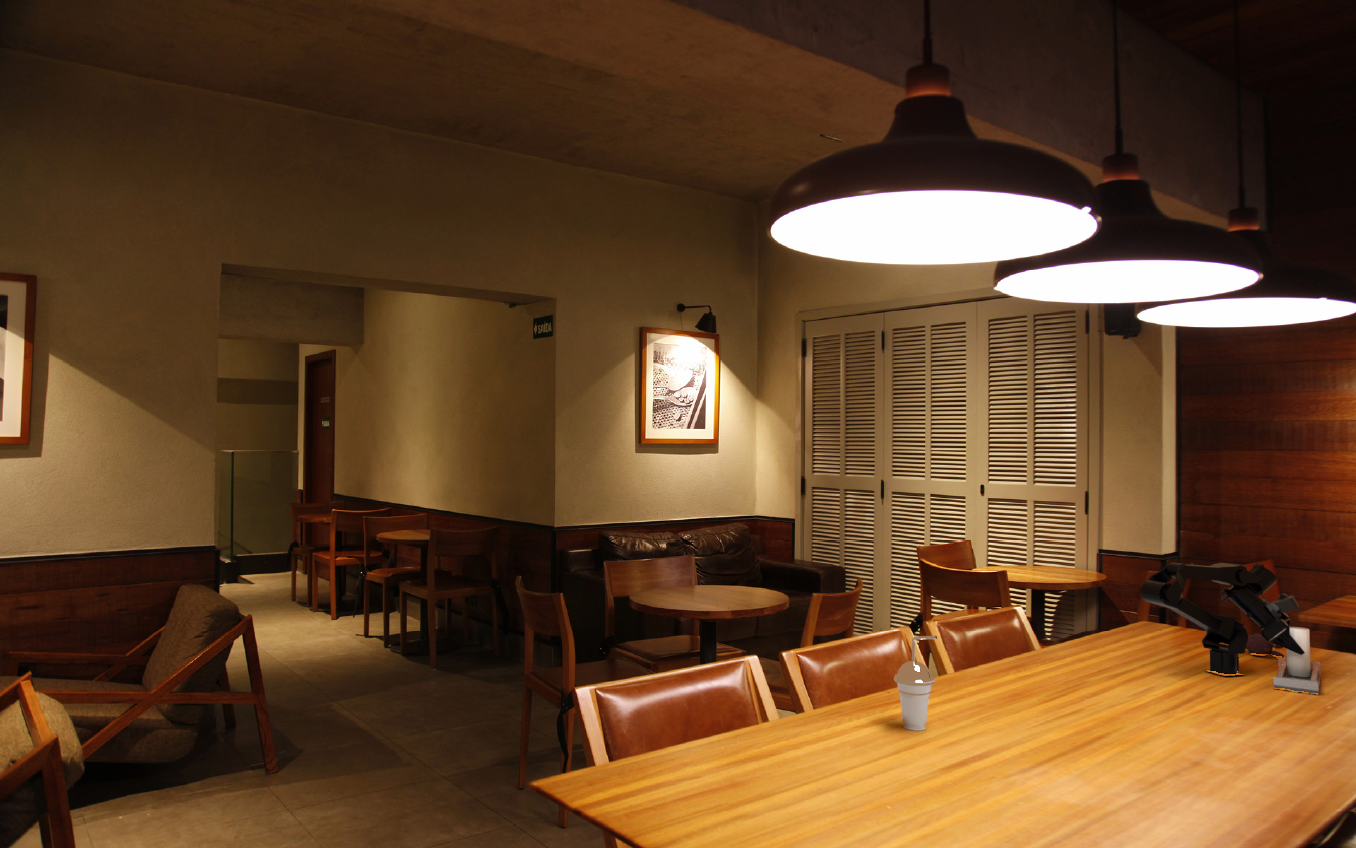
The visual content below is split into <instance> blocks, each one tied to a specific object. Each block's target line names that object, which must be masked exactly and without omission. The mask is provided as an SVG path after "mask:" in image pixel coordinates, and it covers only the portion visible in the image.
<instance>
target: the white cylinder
mask: <svg viewBox="0 0 1356 848" xmlns="http://www.w3.org/2000/svg"><path fill="white" fill-rule="evenodd" d="M1310 633H1311V632H1310V629H1309V628H1307V627H1300V626H1290V635H1291V636H1292V637H1293V638H1294V640H1295V641H1296V642H1297V643H1298V644H1299V646H1300V647H1301V648H1302V649H1303V651H1304V652H1305V653H1304V654H1303V655H1300V654H1298V653H1295V652H1293V651H1291V650H1289V649H1286V658H1287V674H1289V675H1292V676H1298V677H1310V676H1311V671H1310V661H1311V643H1310V642H1311V641H1310V640H1311V639H1310Z"/></svg>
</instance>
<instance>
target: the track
mask: <svg viewBox="0 0 1356 848" xmlns="http://www.w3.org/2000/svg"><path fill="white" fill-rule="evenodd" d="M1277 661H1278V662H1277V663H1278V671H1279V672H1278V671H1277V675H1273V677H1272V679H1273V688H1274V687H1275V688H1285V689H1290V690H1294V691H1304V692H1309V693H1318V692H1319V693H1320V688H1319V685H1320V686H1321V681H1320V678H1321V679H1322V673H1321V661H1315V660H1310V671H1311V676H1310V677H1298V676H1292V675H1289V674H1287V657H1285V658H1284V657H1278V659H1277Z"/></svg>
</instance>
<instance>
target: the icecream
mask: <svg viewBox="0 0 1356 848" xmlns="http://www.w3.org/2000/svg"><path fill="white" fill-rule="evenodd" d="M1283 648H1284V647H1282V646H1279V645H1277V644H1274V643H1271V642H1270V640H1269V641H1267V640H1266V639H1265V638H1264V637H1263V636H1262V633H1261V634H1260V633H1258V632H1257V633H1256V632H1254V633H1253V634H1252V635H1248V641H1247V645H1246V649H1245V650H1247V651H1248V653H1249V654H1250V653H1256V654H1272V655H1276V656H1282V657H1284V656H1285V655H1284V654H1283V653H1282V652H1279V651H1277V650H1273V649H1278V650H1280V649H1283Z"/></svg>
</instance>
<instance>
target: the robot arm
mask: <svg viewBox="0 0 1356 848" xmlns="http://www.w3.org/2000/svg"><path fill="white" fill-rule="evenodd" d="M1173 579H1174V581H1173V582H1172V583H1169V581H1171V580H1173ZM1187 580H1198V581H1199V580H1201V581H1202V580H1203V581H1212V582H1214V583H1218V584H1221V585H1228V586H1231V587H1229V588H1228V589H1226V588H1224V589H1223V590H1221V591H1220V595H1221V596H1220V601H1221V602H1223V603H1225V602H1226V601H1227V600H1229V599H1230V601H1231V602H1232V603H1233V604H1235V605H1236V606H1237V607H1238V608H1239V609H1240V610H1241V611H1242V612H1244V613H1245V616H1246V617H1247V618H1250V619H1251V620H1252V621H1253V622H1254V623H1255V624H1257V626H1258V628H1259V629H1260V630H1261V635H1262V636H1263V637H1264V638H1265V639H1266V640H1267V641H1269V640H1270V642H1271V643H1274V644H1277V645H1279V646H1282V647H1283V648H1285V649H1286V650H1287V649H1289V650H1291V651H1293V652H1295V653H1298V654H1300V655H1303V654H1304V653H1305V652H1304V651H1303V649H1302V648H1301V647H1300V646H1299V644H1298V643H1297V642H1296V641H1295V640H1294V638H1293V637H1292V636H1291V635H1290V627H1291V618H1289V615H1288V614H1287V613H1288V612H1291V611H1297V610H1300V605H1299V604H1298V602H1297V600H1296V598H1295V596H1294V595H1288V594H1286V593H1281V594H1278V599H1276V600H1273V601H1271V602H1269V600H1267V599H1263V598H1262V597H1261V596H1262V595H1263V594H1265V592H1267V591H1269V589H1270V588H1272V586H1273V585H1275V584H1276V583H1277V581H1278V578H1277V576H1276V574H1275V573H1273V572H1272V571H1271V569H1268V568H1266V567H1265V566H1264V564H1262V563H1255V564H1254V565H1253V566H1252V567H1251V568H1250V569H1249V570H1248V569H1247V566H1246V565H1241V564H1234V563H1227V562H1226V563H1225V562H1218V563H1214V564H1211V565H1200V564H1199V565H1198V564H1187V563H1180V562H1179V563H1177V562H1169V563H1167V564H1166V565H1165V566H1164V567H1163V568H1162V569H1161V570H1159V571H1157V572H1155V573H1154V574H1152V575H1150V577H1149V578H1148V579H1147V580H1146V581H1144V582H1143V583H1142V585H1141V587H1140V594H1141V599H1142V600H1143V601H1145V602H1147V603H1150V604H1154V605H1157V606H1160V607H1162V608H1163V607H1164V608H1166V609H1167V608H1168V609H1169V610H1171V611H1173V612H1175V613H1176V614H1178V615H1180V616H1181V617H1183V618H1185V619H1186V620H1189V621H1190V622H1192V623H1193V624H1196V626H1198V627H1200V628H1202V629H1204V630H1205V632H1206V634H1205V636H1204V637H1203V638H1202V640H1201V643H1202V646H1203V649H1209V669H1210V671H1216V672H1218V673H1224V674H1236V673H1237V671H1239V672H1240V657H1239V655H1241V654H1242V655H1243V654H1245V652H1246V650H1247V649H1246V645H1247V641H1248V636H1249V634H1248V630H1247V628H1246V627H1245V626H1244V623H1243V622H1239V621H1237V619H1236V618H1234V617H1232V616H1226V615H1221V614H1217V613H1215V614H1214V613H1213V614H1212V613H1211V612H1208V611H1207V610H1206V609H1204V608H1202V607H1200V606H1198V605H1197V604H1195V603H1193V602H1192V601H1190V600H1189V599H1187V598H1185V597H1184V596H1183V592H1184V591H1185V587H1186V581H1187Z"/></svg>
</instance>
